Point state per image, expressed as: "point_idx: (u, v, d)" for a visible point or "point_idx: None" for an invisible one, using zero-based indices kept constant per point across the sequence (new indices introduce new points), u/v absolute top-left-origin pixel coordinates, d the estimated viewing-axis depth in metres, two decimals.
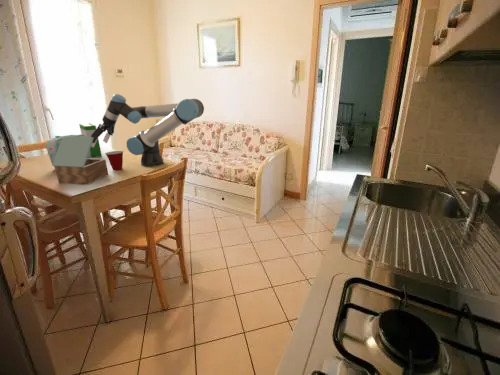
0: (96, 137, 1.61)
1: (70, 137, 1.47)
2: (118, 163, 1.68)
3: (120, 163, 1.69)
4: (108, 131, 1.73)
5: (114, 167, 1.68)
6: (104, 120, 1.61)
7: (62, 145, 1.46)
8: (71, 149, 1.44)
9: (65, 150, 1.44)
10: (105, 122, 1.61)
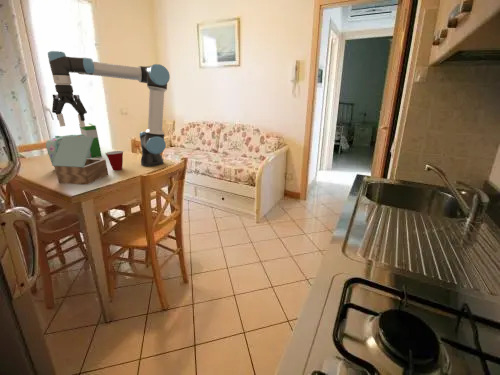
0: None
1: (70, 137, 1.47)
2: (118, 163, 1.68)
3: (120, 163, 1.69)
4: (60, 109, 1.40)
5: (114, 167, 1.68)
6: (69, 89, 1.35)
7: (62, 145, 1.46)
8: (71, 149, 1.44)
9: (65, 150, 1.44)
10: (71, 91, 1.36)
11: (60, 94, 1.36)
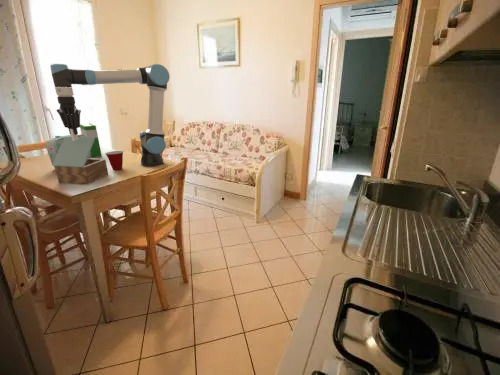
0: None
1: (71, 138, 1.48)
2: (118, 163, 1.68)
3: (120, 163, 1.69)
4: (69, 122, 1.42)
5: (114, 167, 1.68)
6: (71, 101, 1.37)
7: (63, 145, 1.46)
8: (72, 149, 1.45)
9: (66, 150, 1.45)
10: (73, 102, 1.38)
11: (61, 104, 1.38)
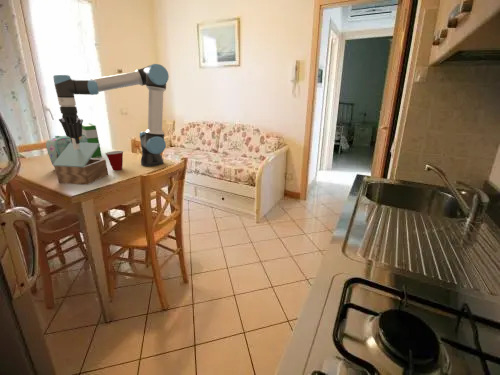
0: None
1: None
2: (118, 163, 1.68)
3: (120, 163, 1.69)
4: (71, 131, 1.44)
5: (114, 167, 1.68)
6: (73, 111, 1.39)
7: (67, 149, 1.49)
8: (75, 152, 1.47)
9: (69, 153, 1.47)
10: (75, 112, 1.40)
11: (63, 114, 1.40)
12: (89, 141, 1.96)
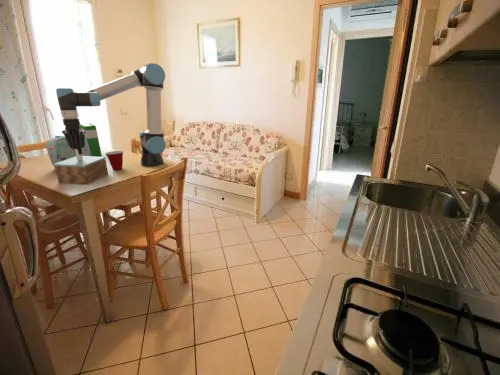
0: None
1: (84, 156, 1.58)
2: (118, 163, 1.68)
3: (120, 163, 1.69)
4: (74, 142, 1.46)
5: (114, 167, 1.68)
6: (76, 123, 1.41)
7: (73, 158, 1.54)
8: None
9: (74, 159, 1.50)
10: (78, 124, 1.42)
11: (66, 126, 1.42)
12: (89, 141, 1.96)
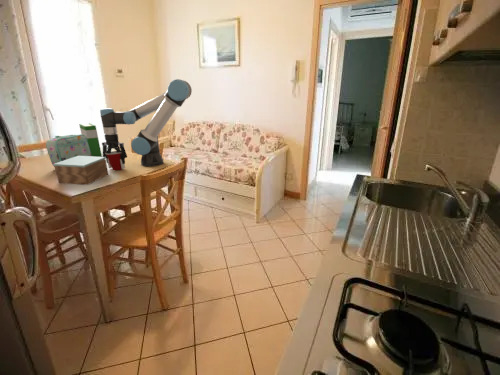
0: None
1: (84, 156, 1.58)
2: (118, 163, 1.68)
3: (120, 163, 1.69)
4: (109, 153, 1.69)
5: (114, 167, 1.68)
6: (115, 138, 1.63)
7: (73, 158, 1.54)
8: (80, 159, 1.51)
9: (74, 159, 1.50)
10: (117, 138, 1.65)
11: (108, 141, 1.65)
12: (89, 141, 1.96)
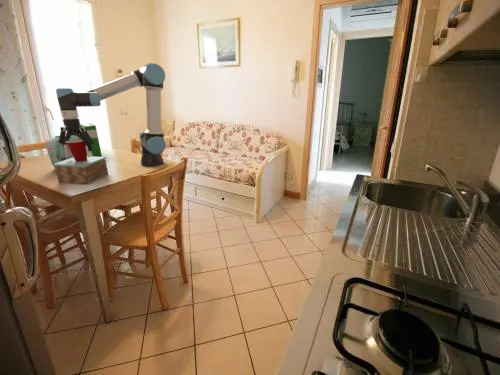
0: None
1: None
2: (81, 153, 1.45)
3: (83, 153, 1.47)
4: (67, 140, 1.46)
5: (76, 158, 1.46)
6: (76, 123, 1.41)
7: (73, 158, 1.54)
8: None
9: (74, 159, 1.50)
10: (78, 124, 1.42)
11: (68, 127, 1.42)
12: None
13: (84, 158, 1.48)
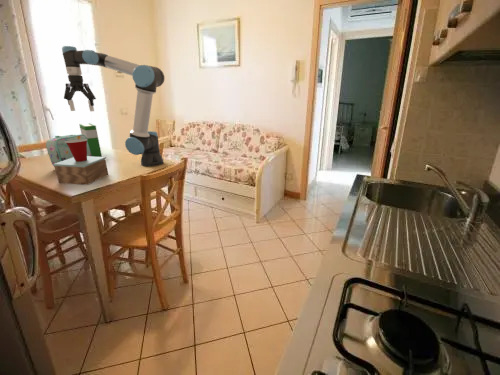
0: None
1: None
2: (81, 153, 1.45)
3: (83, 153, 1.47)
4: (71, 96, 1.63)
5: (76, 158, 1.46)
6: (80, 79, 1.57)
7: (73, 158, 1.54)
8: None
9: (74, 159, 1.50)
10: (81, 80, 1.59)
11: (72, 83, 1.59)
12: (89, 141, 1.96)
13: (84, 158, 1.48)
